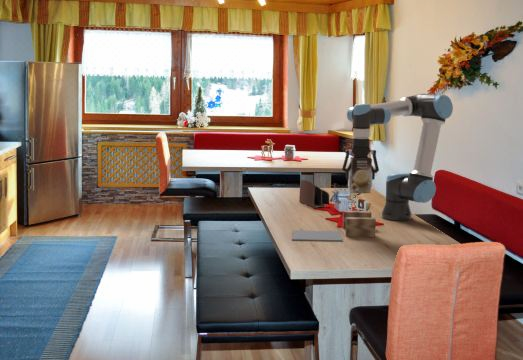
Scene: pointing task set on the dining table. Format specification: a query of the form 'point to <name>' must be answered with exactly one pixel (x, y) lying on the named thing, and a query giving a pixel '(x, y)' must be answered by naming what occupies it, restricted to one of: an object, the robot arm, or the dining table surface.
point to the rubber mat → (316, 235)
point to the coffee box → (360, 175)
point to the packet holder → (359, 223)
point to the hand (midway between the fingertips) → (359, 186)
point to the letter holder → (312, 195)
